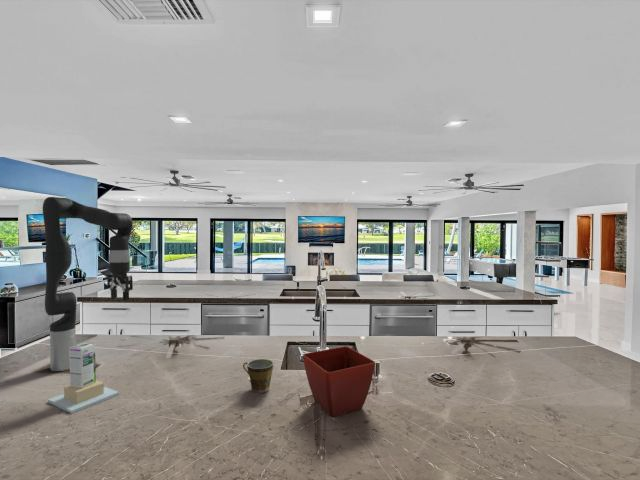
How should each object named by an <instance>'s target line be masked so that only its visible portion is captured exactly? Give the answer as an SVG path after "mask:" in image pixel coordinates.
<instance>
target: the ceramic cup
mask: <svg viewBox="0 0 640 480" xmlns="http://www.w3.org/2000/svg"><path fill="white" fill-rule="evenodd" d="M245 365H246V367H245ZM242 367H243V370H244V371H245V372H246V373H247V374H248V376H249V377H248V378H249V380H250V388H251V390H252V391H251V392H253V393H257V394H261V393H267V391H269V390H270V386H271V381H272V380H271V379H272V375H273V370H274V362H273V361H272V360H270V359H266V358H258V359H257V358H256V359H253V360H250V361H248V362H247V361H246V362H244V363H243V364H242ZM246 368H247V369H246Z"/></svg>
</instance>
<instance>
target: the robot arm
mask: <svg viewBox="0 0 640 480" xmlns="http://www.w3.org/2000/svg"><path fill="white" fill-rule="evenodd" d="M42 217H43V218H42V219H43V224H44V235H45V272H46V273H45V278H46V279H45V281H46V282H45V292H44V293H45V294H44V310H45V314H47V316H49V317H50V316H59V315H63V316H62V317H60V318H59V319H58V320H55V321H53V322H52V323H50V325H49V350H50V351H49V353H50V354H49V357H50V363H49V364H50V371H51V372H63V371H68V370H70V360H69V348H70V347H73V346H76V345H77V343H76V337H77V335H76V322H77V305H78V304H77V303H78V302H77V297H76V294H75V293H74V292H72V291H69V292H68V291H67V292H59V293H57V292H58V287H59V285H60V282H61V280H62V279H63V277H64V276H65V274H66V273H67V272H68V270H69V269H70V267H71V265H72V254H73V253H72V246H71V245H70V243H69V241H68V240H67V239H66V237H65V235H64V234H63V231H62V230H61V222H60V219H63V220H64V219H79V220H83V221H85V222H86V223H89V224H92V225H95V226H100V227H102V228H104V229H108V230H111V231H117V232H116V234H115V235H112V236H111V237H110V238H109V254H108V272H109V273H108V274H107V276H106V277H107V279H106V282H107V283H106V285H107V286H106V287H107V289H109V290H110V299H113V300H114V299H117V298H118V290H117V289H118V287H120V288H121V289H122V301H124V302H126V301H129V300H130V291H132V290H133V289H134V288H133V287H134V286H133V285H134V284H133V275H128V273H129V272H130V269H131V267H130V266H131V262H130V248H129V247H130V245H129V243H130V242H129V240H130V237H131V233H132V230H133V227H134V226H133V225H134V224H133V223H134V222H133V218H132V216H130V214H128V213H123V212H122V213H119V212H111V211H108V210H106V209H103V208H98V207H93V206H88V205H85V204H82V203H79V202H78V201H75V200H73V199H70V198H67V197H57V196H49V197H48V196H47V197H46V198H45V199H44V201H43V203H42Z"/></svg>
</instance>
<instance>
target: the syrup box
mask: <svg viewBox="0 0 640 480" xmlns="http://www.w3.org/2000/svg"><path fill="white" fill-rule="evenodd" d="M69 360H70V369H69V381H70V383H69V385H70V386H71V387H76V388H84V387H86V386H88V385H90V384H92V383H95V382H96V380H97V370H96V366H97V365H96V364H97V363H96V362H97V361H96V343H92V342H81V343H79V344H76V346H73V347H70V348H69Z"/></svg>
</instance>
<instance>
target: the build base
mask: <svg viewBox="0 0 640 480" xmlns="http://www.w3.org/2000/svg"><path fill="white" fill-rule="evenodd" d="M104 385H105V383H104V382H103V381H100V380H97V379H96V382H95V383H92V384H90V385H88V386H86V387H84V388H76V387H71V386H70V384H68V385H65V386H63V394H60V395H57V396H54V397H51V398H48V399H47V402H48V403H49V404H50V405H53V406H55V407H56V408H59V409H61V410H63V411H65V412H68V413H69V414H74V413H77V412H79V411H80V412H81V410H85V409H87V408H89V407H92V406H94V405H96V404H99V403H102V402H104V401H106V400H109V399H112V398H115V397H116V396H119V395H120V394H119V391H117V390H115V389H113V388H112V389H111V388H109V387H107V386H104Z"/></svg>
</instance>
